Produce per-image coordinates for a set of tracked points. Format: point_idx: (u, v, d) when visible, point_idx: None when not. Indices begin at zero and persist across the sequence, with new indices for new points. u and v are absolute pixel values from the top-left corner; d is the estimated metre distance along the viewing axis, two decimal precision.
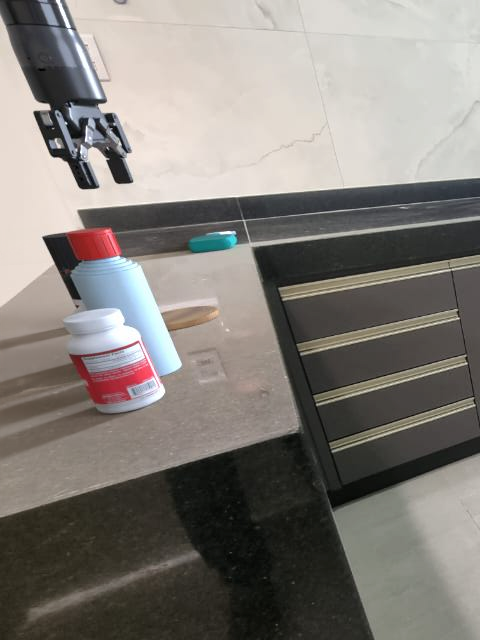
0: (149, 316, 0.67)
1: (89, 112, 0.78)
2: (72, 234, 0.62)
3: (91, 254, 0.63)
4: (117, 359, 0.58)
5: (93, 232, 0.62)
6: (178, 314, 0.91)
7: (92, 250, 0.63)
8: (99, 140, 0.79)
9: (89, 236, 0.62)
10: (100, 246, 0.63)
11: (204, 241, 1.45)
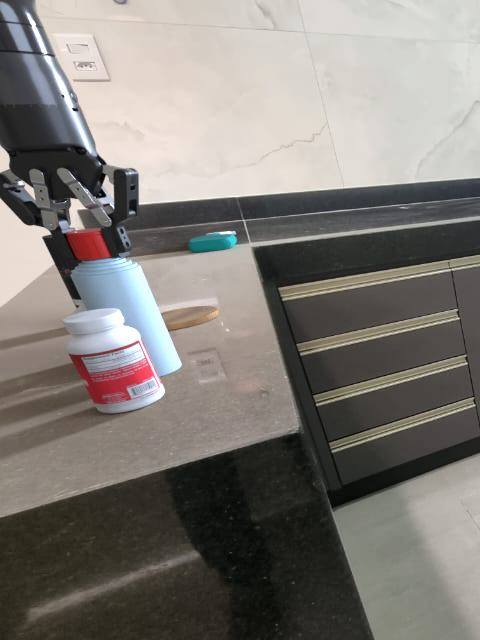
0: (149, 316, 0.67)
1: None
2: (72, 234, 0.62)
3: (91, 254, 0.63)
4: (117, 359, 0.58)
5: (93, 232, 0.62)
6: (178, 314, 0.91)
7: (92, 250, 0.63)
8: None
9: (89, 236, 0.62)
10: (100, 246, 0.63)
11: (204, 241, 1.45)
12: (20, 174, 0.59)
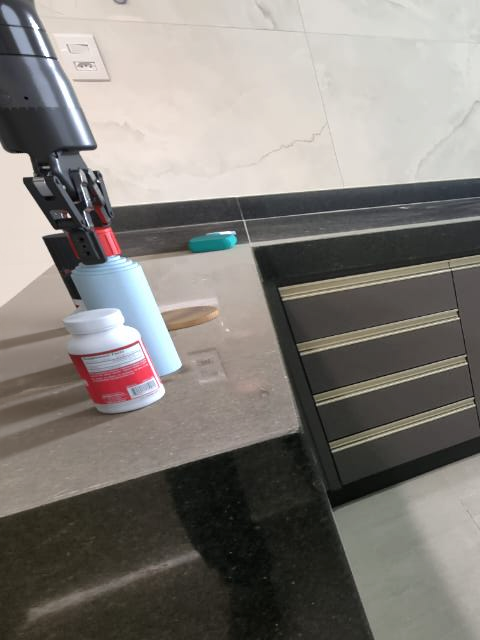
0: (149, 316, 0.67)
1: None
2: (107, 229, 0.64)
3: (119, 248, 0.65)
4: (117, 359, 0.58)
5: (107, 227, 0.65)
6: (178, 314, 0.91)
7: (117, 244, 0.65)
8: None
9: None
10: None
11: (204, 241, 1.45)
12: (65, 175, 0.59)
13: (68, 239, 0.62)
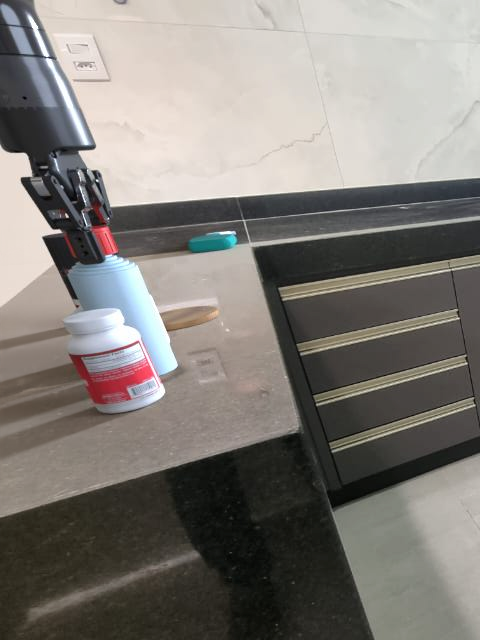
0: (145, 316, 0.67)
1: None
2: None
3: None
4: (117, 359, 0.58)
5: None
6: (178, 314, 0.91)
7: None
8: None
9: None
10: None
11: (204, 241, 1.45)
12: (63, 175, 0.59)
13: None
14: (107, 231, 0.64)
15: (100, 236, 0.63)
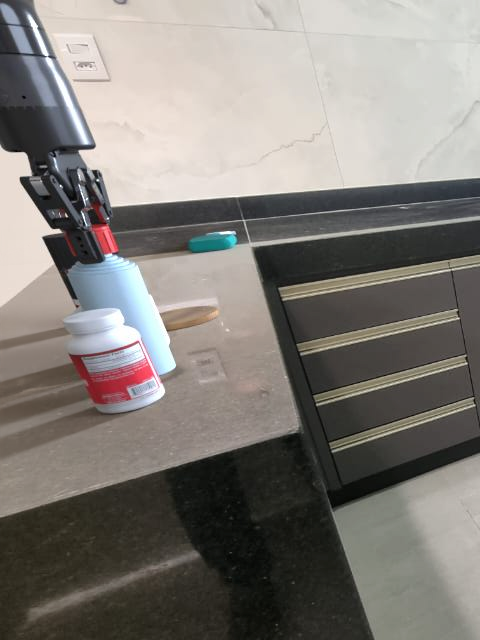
0: (145, 316, 0.67)
1: None
2: None
3: (73, 251, 0.62)
4: (117, 359, 0.58)
5: None
6: (178, 314, 0.91)
7: None
8: None
9: None
10: None
11: (204, 241, 1.45)
12: (62, 175, 0.58)
13: None
14: None
15: None
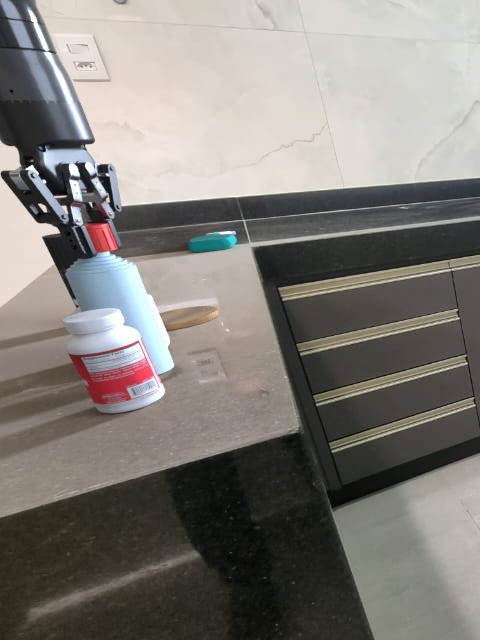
0: (143, 315, 0.67)
1: None
2: None
3: (102, 246, 0.64)
4: (117, 359, 0.58)
5: (102, 225, 0.64)
6: (178, 314, 0.91)
7: (103, 242, 0.64)
8: None
9: (100, 228, 0.63)
10: (109, 239, 0.64)
11: (204, 241, 1.45)
12: (51, 169, 0.58)
13: None
14: None
15: None
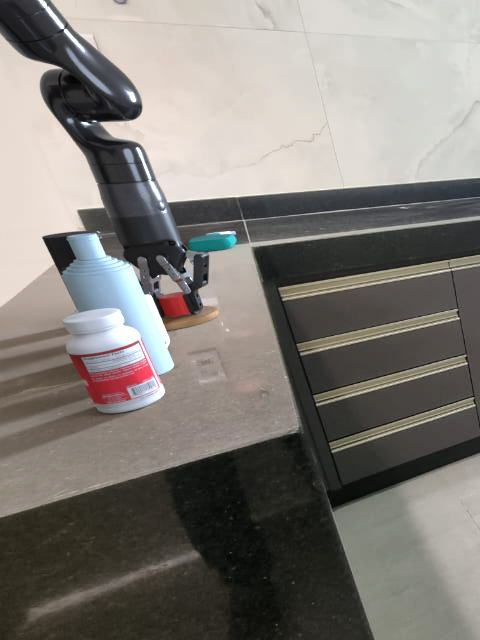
0: (141, 316, 0.67)
1: (155, 250, 0.85)
2: None
3: None
4: (117, 359, 0.58)
5: (180, 292, 0.90)
6: None
7: None
8: (163, 273, 0.86)
9: None
10: None
11: (204, 241, 1.45)
12: None
13: (162, 303, 0.87)
14: (173, 300, 0.87)
15: (165, 303, 0.87)
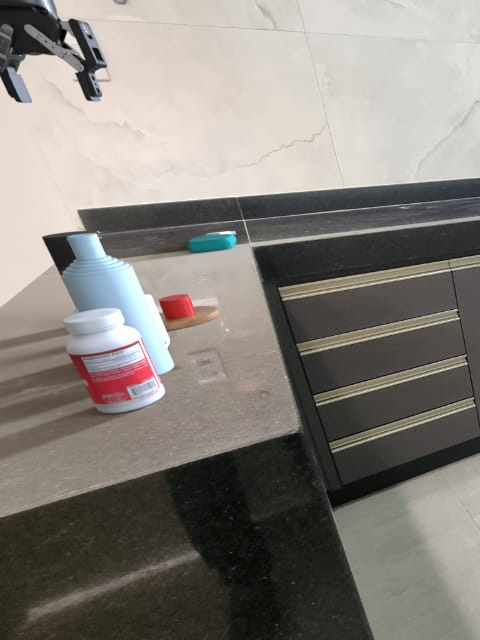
0: (141, 316, 0.67)
1: (23, 19, 0.73)
2: (188, 295, 0.90)
3: None
4: (117, 359, 0.58)
5: (181, 294, 0.91)
6: None
7: None
8: (36, 50, 0.75)
9: None
10: None
11: (203, 241, 1.45)
12: None
13: (162, 306, 0.88)
14: (173, 303, 0.88)
15: (166, 306, 0.87)
